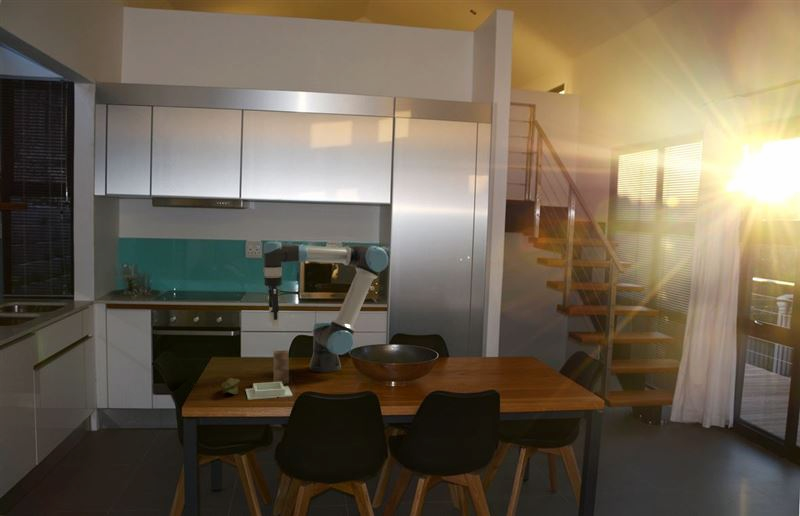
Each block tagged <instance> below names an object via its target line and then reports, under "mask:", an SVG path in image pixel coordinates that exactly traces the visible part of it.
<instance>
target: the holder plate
mask: <svg viewBox="0 0 800 516" xmlns="http://www.w3.org/2000/svg"><path fill="white" fill-rule="evenodd" d="M245 393H246V397H247V401H248V400H249V401H251V400H262V399H263V400H264V399H276V398H277V397H279V398H287V397H289V398H292V397H294V396H293V393H292V391H291V390H290V387H289V385H284V384H282V382H274V381H269V382H258V383H257V382H255V383H252V388H245ZM277 399H278V398H277Z"/></svg>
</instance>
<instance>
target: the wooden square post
mask: <svg viewBox="0 0 800 516" xmlns="http://www.w3.org/2000/svg"><path fill="white" fill-rule="evenodd" d="M289 354H290V353H289V351H288V350H274V351H273V382H282V384H283V385H287V384H286V383H289V377H290V376H289V375H290V373H289V365H290V364H289V363H290V362H289V361H290V360H289Z"/></svg>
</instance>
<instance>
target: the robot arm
mask: <svg viewBox="0 0 800 516" xmlns="http://www.w3.org/2000/svg"><path fill="white" fill-rule="evenodd" d="M305 262H314V263H315V262H316V263H332V264H333V263H335V264H343V265H344V266H351V267H355V268H354V269H355V272H356V273H355V276H354V277H353V280H352V282H351V285H350V287H349V289H348V291H347V294H346V296H345V298H344V300H343V303H342V305H341V307H340V310H339V312H338V315H337V316H336V318H335V319H334V320H331V321H321V322H316V323H315V322H314V324H313V329H312V332H313V338H312V339H313V340H312V341H313V346H312V348H313V349H312V350H313V351H312V352H313V353H312V357H311V359H310V363H309V370H310V371H312V372H316V373H317V372H318V373H330V372H337V371H340V370H341V367H342V365H341V364H342V363H341V361H340V358H339V355H341V356H342V355H345V354H347V353H348V352H349V351H351V349H352V347H353V345H354V342H355V341H354V336H353V335H354V333H355V328H354V325H355V322H356V321H357V318H358V316H359V313H360V312H361V308H362V307H363V305H364V302H365V300H366V297H367V296H368V295H367V294H368V292H369V290H370V288H371V285H372V283H373V281H374V280H375V279H377V278H378V277H379V276H380V274H381V272H382V271H384V270H385V269H386V268H387V266H388V264H389V256H388V253H387V251H386V250H385V249H384V248H383V247H379V246H377V245H368V244H363V245H362V244H361V245H345V246H344V247H338V246H337V247H336V246H335V247H334V246H320V245H319V246H318V245H303V244H302V245H301V244H289V243H282V242H281V241H266V242H264V244H263V263H264V264H263V266H264V268H263V269H262V272H263V273H264V280H263V281H264V286H266V287H268V316H269V317H268V319H269V323H271V328H279V311H280V309H279V290H278V288H277V287H280V286H282V285H283V282H282V281H283V277H282V276H283V269H282V263H284V264H285V263H305Z"/></svg>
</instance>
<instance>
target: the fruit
mask: <svg viewBox="0 0 800 516" xmlns="http://www.w3.org/2000/svg"><path fill="white" fill-rule="evenodd" d="M240 382H241V379H238V378H232V377H228V378H227V380H226V381H225V382H223V383H221V388H222V395H226V394H232V395H237V394H239V388H238V385H239V384H240Z"/></svg>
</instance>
